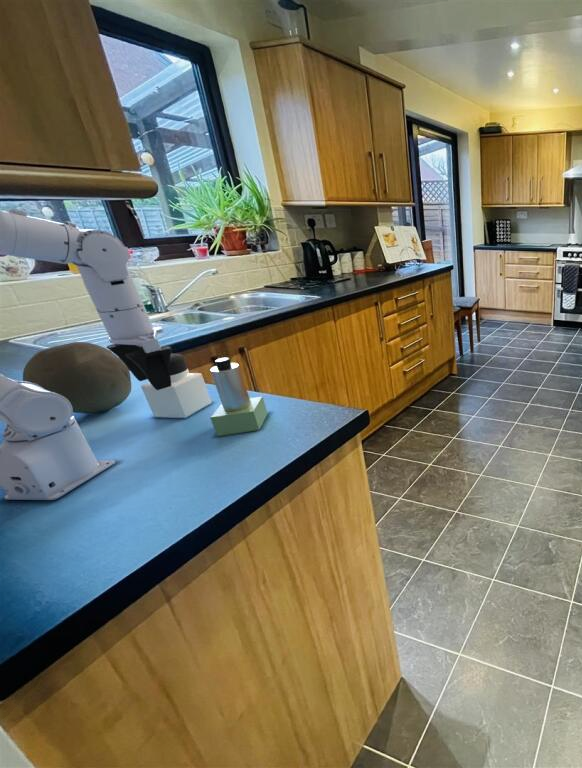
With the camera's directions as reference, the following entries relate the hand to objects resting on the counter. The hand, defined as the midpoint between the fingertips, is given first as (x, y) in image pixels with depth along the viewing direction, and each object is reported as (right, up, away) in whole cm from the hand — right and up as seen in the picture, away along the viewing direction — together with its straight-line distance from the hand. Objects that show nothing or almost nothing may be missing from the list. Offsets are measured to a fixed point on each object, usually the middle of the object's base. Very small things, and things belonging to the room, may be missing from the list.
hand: (154, 383), depth 71 cm
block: (+11, -8, +7) cm, 15 cm away
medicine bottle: (-6, -6, +13) cm, 16 cm away
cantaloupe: (-24, -6, +13) cm, 28 cm away
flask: (+11, -4, +5) cm, 13 cm away
